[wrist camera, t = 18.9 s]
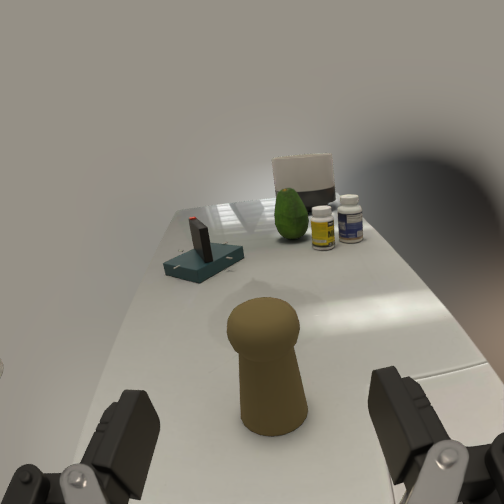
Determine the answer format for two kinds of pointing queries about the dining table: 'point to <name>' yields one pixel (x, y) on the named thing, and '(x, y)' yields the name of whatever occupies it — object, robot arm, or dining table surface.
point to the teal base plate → (196, 268)
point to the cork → (268, 365)
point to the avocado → (290, 214)
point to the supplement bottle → (322, 228)
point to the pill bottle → (350, 219)
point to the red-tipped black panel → (201, 239)
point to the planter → (306, 177)
